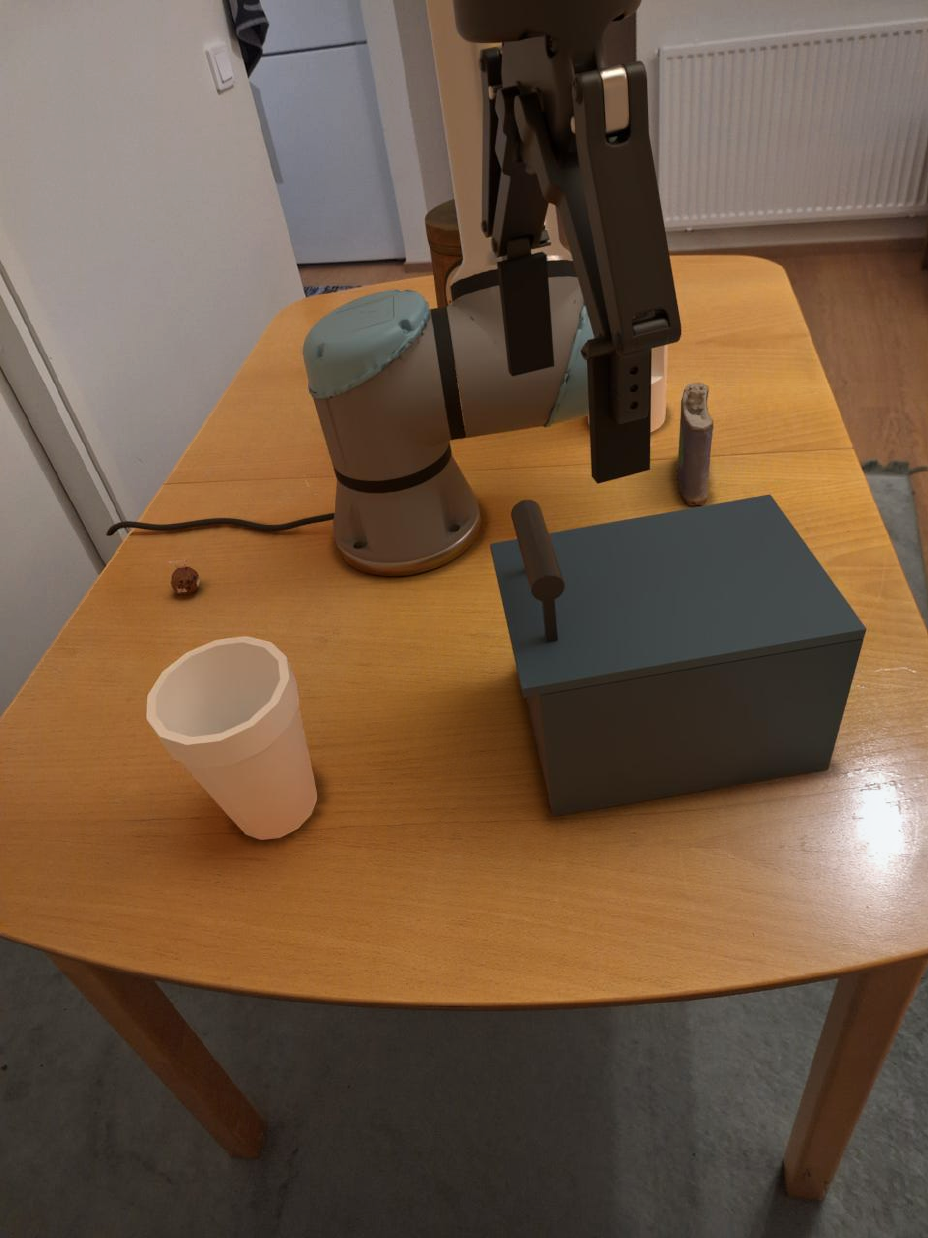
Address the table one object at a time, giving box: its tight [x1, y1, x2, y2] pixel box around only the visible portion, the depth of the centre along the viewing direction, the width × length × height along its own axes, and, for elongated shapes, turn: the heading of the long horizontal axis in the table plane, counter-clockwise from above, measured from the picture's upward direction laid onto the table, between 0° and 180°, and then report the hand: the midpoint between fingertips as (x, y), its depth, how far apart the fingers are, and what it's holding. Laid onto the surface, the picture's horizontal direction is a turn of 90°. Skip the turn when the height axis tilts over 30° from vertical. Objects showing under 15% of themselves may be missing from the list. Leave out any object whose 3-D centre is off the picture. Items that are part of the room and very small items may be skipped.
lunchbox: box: [525, 638, 865, 817], centre depth 58 cm, size 20×15×13 cm
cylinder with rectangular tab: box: [587, 344, 669, 433], centre depth 91 cm, size 9×9×12 cm
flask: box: [675, 382, 714, 507], centre depth 81 cm, size 9×3×11 cm, turn 172°
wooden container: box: [424, 198, 463, 360], centre depth 108 cm, size 15×15×22 cm
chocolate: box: [168, 558, 201, 595], centre depth 81 cm, size 3×2×4 cm
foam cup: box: [145, 635, 318, 841], centre depth 57 cm, size 10×9×13 cm
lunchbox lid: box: [489, 493, 867, 698], centre depth 51 cm, size 21×15×6 cm
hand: (570, 415), depth 44 cm, fingers open, 13 cm apart
